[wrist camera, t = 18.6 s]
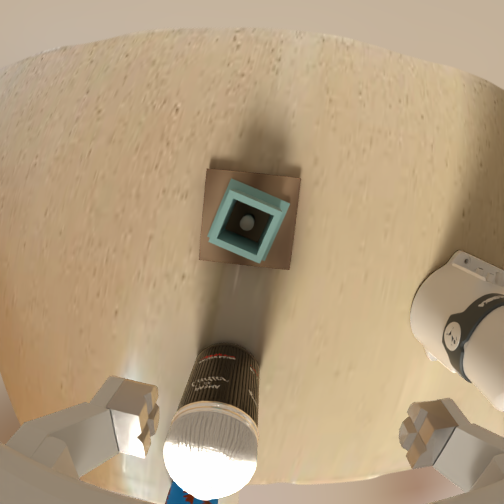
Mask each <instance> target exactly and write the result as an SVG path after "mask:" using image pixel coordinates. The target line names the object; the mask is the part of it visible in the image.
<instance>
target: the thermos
mask: <svg viewBox="0 0 504 504" xmlns="http://www.w3.org/2000/svg"><path fill="white" fill-rule="evenodd" d="M165 504H218V498H214V499H210V500H200V499H197V498H195V497H194V496H193V495H191V494H189V493H188V492H187V491H185V490H184V489H183V488H181V487H180V486H179V485H178V484H177V483H176V482H175V481H173V482H172V485H171V488H170V490H169V493H168V496H167V499H166V503H165Z"/></svg>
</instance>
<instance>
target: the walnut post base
mask: <svg viewBox="0 0 504 504" xmlns="http://www.w3.org/2000/svg"><path fill="white" fill-rule="evenodd" d="M231 178H232V179H234V180H236V181H239V182H241V183H244V184H246V185H248V186H251V187H253V188H255V189H258V190H260V191H263V192H265V193H267V194H269V195H272V196H274V197H276V198H279V199H281V200H283V201H285V202H288V203H290V205H289V208H288V210H287V212H286V214H285V217H284V219H283V221H282V223H281V226H280V228H279V230H278V232H277V235H276V237H275V239H274V241H273V244H272V246H271V248H270V250H269V253H268V255H267V257H266V259H265V261H263V260H261V262H260V264H259V263H257V262H254V261H252V260H250V259H247V258H245V257H243V256H240V255H238V254H236V253H233V252H231V251H229V250H226V249H224V248H222V247H219V246H217V245H215V244H212V243H210V242H208V241H209V239H210V238H209V237H207V235H208V233H209V231H210V228H211V226H212V223H213V221H214V218H215V216H216V213H217V211H218V208H219V206H220V204H221V201H222V199H223V196H224V194H225V192H226V189H227V187H228V185H229V182H230V180H231ZM300 181H301V178H294V177H286V176H278V175H269V174H260V173H250V172H240V171H230V170H218V169H207V172H206V182H205V193H204V204H203V215H202V227H201V240H200V253H199V260H205V261H214V262H223V263H232V264H240V265H249V266H258V267H267V268H276V269H286V270H289V269H290V261H291V254H292V246H293V239H294V231H295V223H296V215H297V207H298V198H299V190H300ZM269 216H270V214H269V213H266V212H264V211H262V210H259V209H257V208H255V207H252V206H250V205H248V204H245V203H243V202H241V201H238V200H237V201H236V204H235V206H234V208H233V211H232V213H231V216H230V218H229V220H228V223H227V225H226V228H225V229H227V230H229V231H231V232H234V233H236V234H238V235H241V236H243V237H245V238H248V239H250V240H252V241H255V242H257V243H258V241H259V239H260V237H261V234H262V232H263V230H264V228H265V225H266V223H267V221H268V218H269Z"/></svg>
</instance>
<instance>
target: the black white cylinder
mask: <svg viewBox="0 0 504 504" xmlns="http://www.w3.org/2000/svg"><path fill="white" fill-rule="evenodd" d="M258 404H259V366H258V363H257V361H256V359H255V358H254V356H253V355H252V354H251V353H250V352H249V351H247V350H246V349H244V348H243V347H241V346H238V345H235V344H231V343H219V344H214V345H211V346H209V347H207V348H206V349H204V350H203V351H202V352H201V353H200V354H199V355H198V357H197V359H196V361H195V364H194V366H193V369H192V372H191V374H190V377H189V380H188V382H187V385H186V388H185V390H184V393H183V396H182V398H181V401H180V404H179V407H178V409H177V412H176V413H175V415H174V416H173V418H172V421H171V426H170V430H169V433H168V435H167V438H166V441H165V444H164V448H163V457H164V463H165V466H166V468H167V470H168V472H169V474H170V476H171V477H172V478H173V480H174V481H175V482H176V483H177V484H178V485H179V486H180V487H181V488H183V489H184V490H185V491H187V492H188V493H189V494H191V495H193V496H194V497H195V498H197V499H200V500H210V499H214V498H220V497H223V496H227V495H229V494H232V493H234V492H235V491H237V490H239V489H240V488H242V487H243V486H244V485H245V484H246V483H247V482H248V481H249V480H250V478H251V477H252V475H253V473H254V471H255V469H256V465H257V447H258V440H259V432H258Z"/></svg>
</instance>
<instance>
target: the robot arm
mask: <svg viewBox="0 0 504 504" xmlns="http://www.w3.org/2000/svg"><path fill="white" fill-rule="evenodd" d="M465 259H466V262H465V263H464V261H465ZM410 324H411V329H412V332H413V334H414V336H415V338H416V339H417V340H418V341H419V342H420V343H421V344H422V345H423V346H424V348H425V352H426V355H427V357H428V358H429V359H430V360H431V361H436V360H438V361H439V362H441V363H442V364H443V365H444V366H445V367H446V368H448V369H449V370H450V371H451V372H454V373H455V372H457V373H458V374H459V375H460V376H461V377H462V378H464V379H465V380H466V381H468V382H470V383H473V384H474V385H475V386H476V388H477V389H478V390H479V391H480V392H481V393H482V394H483V395H484V396H485V398H486V399H487V400H488V401H489V402H490V403H491V404H492V406H493V407H494V408H496V409H497V410H499V411H502V412H504V270H502V269H500V268H498V267H496V266H494V265H492V264H490V263H488V262H485V261H483V260H481V259H479V258H477V257H475V256H472V255H470V254H468V253H466V252H464V251H461V250H459V251H457V252H456V253H455V254H454V255H453V256H452V257H451V258H450V260H449V261H448V263H447V264H446V265H444V266H443V267H441V268H440V269H438V270H436V271H435V272H434V273H432V274H431V275H430V276H429V277H428V278H427V279H426V280H425V281H424V283H423V284H422V285H421V287H420V288H419V290H418V292H417V294H416V296H415V298H414V301H413V304H412V308H411V313H410ZM157 399H158V388H157V387H156V386H155V385H150V384H146V383H142V382H137V381H133V380H129V379H125V378H121V377H117V376H113V375H112V376H110V377H108V379H107V380H106V381H105V383H104V384H103V385H102V387H101V388H100V389H99V391H98V392H97V393H96V395H95V396H94V397H93V399H92V400H91V401H90V403H87V402H84V403H81V404H78V405H75V406H73V407H70V408H67V409H64V410H61V411H58V412H55V413H52V414H49V415H46V416H43V417H40V418H37V419H34V420H31V421H28V422H25V423H24V424H23V425H22V426H21V427H20V428H19V429H18V431H17V432H16V433H15V434H14V435H13V436H12V437H11V439H10V440H9V441H8V442H7V443H6V444H5V445H4V444H3V443H1V442H0V504H155V503H151V502H147V501H143V500H139V499H136V498H132V497H129V496H125V495H122V494H118V493H115V492H112V491H109V490H106V489H103V488H100V487H97V486H94V485H91V484H89V483H86V482H83V481H81V480H80V478H79V477H81V476H83V475H84V474H86V473H88V472H89V471H91V470H93V469H94V468H96V467H98V466H99V465H101V464H102V463H104V462H106V461H107V460H109V459H110V458H112V457H114V456H115V455H117V454H118V453H119V452H122V453H126V454H130V455H134V456H138V457H142V458H145V457H146V455H147V452H148V450H149V447H150V445H151V439H150V437H151V436H153V435H154V434H155V433H156V430H157V427H158V423H159V406H158V405H157V404H156V401H157ZM407 413H408V415H409V417H408V418H407V419H405V420H404V421H403V422H402V425H401V427H400V431H399V440H400V444H401V446H402V447H403V448H404V449H406V450H407V451H408V452H407V455H406V457H407V459H408V461H409V463H410V466H411V468H412V469H416V468H422V467H429V466H433V467H434V468H435V469H436V470H437V471H439V472H440V473H441V474H442V475H443V476H445V477H446V478H447V479H449V480H450V481H451V482H452V483H454V484H455V485H456V486H457V487H459V488H460V489H461V490H463V491H464V492H465V493H463V494H460V495H457V496H453V497H450V498H447V499H443V500H439V501H435V502H431V503H428V504H504V438H503V437H501V436H499V435H497V434H495V433H493V432H491V431H489V430H487V429H484V428H482V427H480V426H478V425H476V424H471V423H470V422H469V421H468V419H467V418H466V417H465V415H464V414H463V413H462V412H461V410H460V409H459V408H458V406H457V405H456V404H455V402H454V401H453V400H452V399H450V398H446V399H439V400H434V401H423V402H413V403H412V404H411V405H410V407H409V409H408V411H407Z"/></svg>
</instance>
